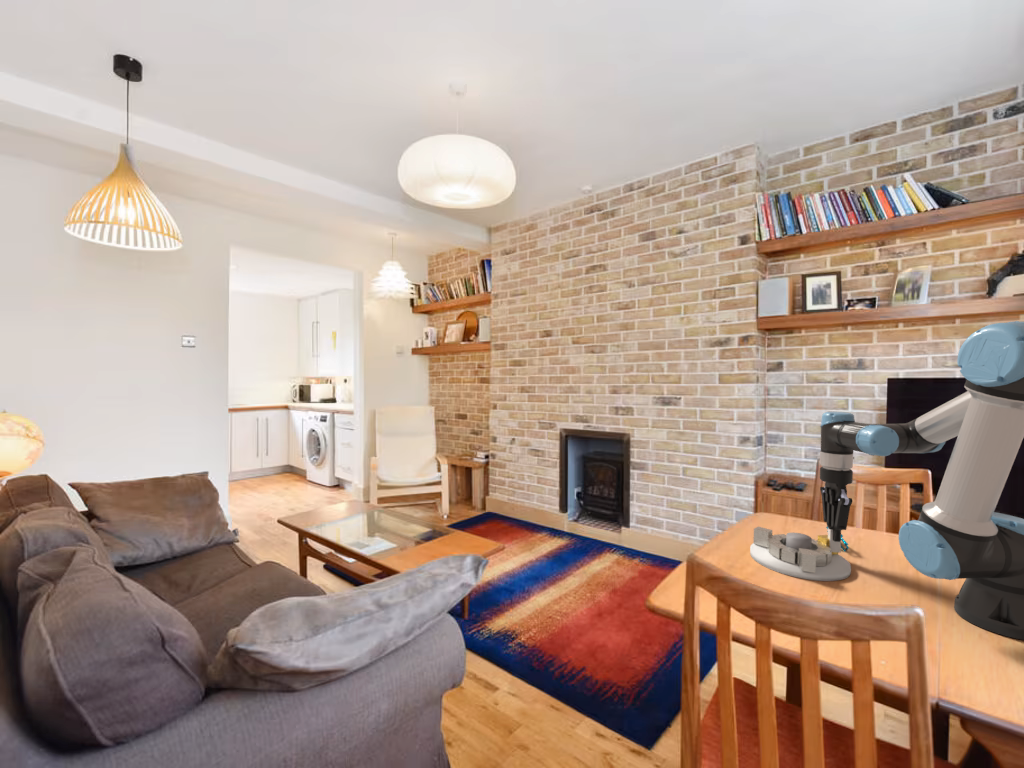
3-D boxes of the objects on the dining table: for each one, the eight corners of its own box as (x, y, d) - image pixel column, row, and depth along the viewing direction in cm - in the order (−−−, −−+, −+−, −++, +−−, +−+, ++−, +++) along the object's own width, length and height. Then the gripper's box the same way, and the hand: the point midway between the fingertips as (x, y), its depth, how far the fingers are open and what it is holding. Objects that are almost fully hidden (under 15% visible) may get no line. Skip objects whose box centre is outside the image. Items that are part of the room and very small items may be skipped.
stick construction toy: (854, 548, 135) (835, 523, 138) (831, 559, 137) (813, 534, 140) (846, 546, 146) (828, 522, 149) (824, 556, 147) (807, 532, 151)
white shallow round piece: (873, 581, 119) (874, 554, 119) (778, 580, 120) (779, 553, 119) (814, 544, 143) (815, 522, 143) (735, 543, 144) (735, 521, 143)
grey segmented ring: (868, 568, 123) (869, 551, 123) (804, 573, 120) (805, 556, 119) (804, 538, 144) (804, 523, 144) (748, 541, 141) (749, 526, 140)
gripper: (864, 473, 123) (861, 561, 124) (839, 463, 136) (837, 543, 137) (832, 472, 125) (830, 559, 126) (810, 462, 137) (808, 541, 138)
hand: (833, 551), depth 131 cm, fingers closed
